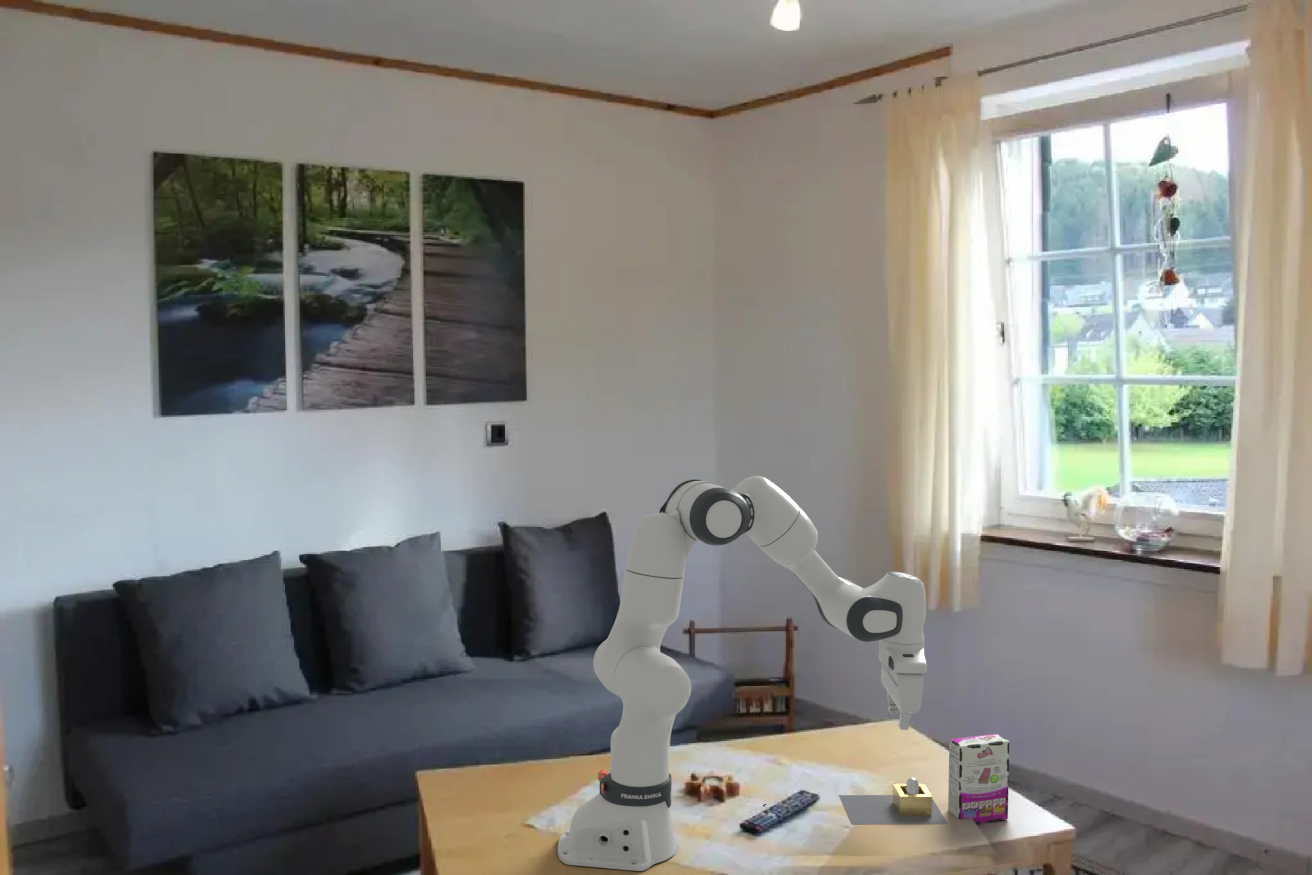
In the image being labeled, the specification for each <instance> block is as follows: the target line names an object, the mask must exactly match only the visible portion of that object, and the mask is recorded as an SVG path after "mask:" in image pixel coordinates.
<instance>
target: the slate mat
mask: <svg viewBox="0 0 1312 875" xmlns="http://www.w3.org/2000/svg"><path fill="white" fill-rule="evenodd" d="M838 796H839V800H840V801H841V803H842V805H843V808H844V810H845V812H846V814H847V817H848V819H849V822H850V823H851V825H949V823H948V821H947V820H946V818H945V817H944V815H943V814H942V812H941V810H940V809H939V807H938V805H937V804H936V802H935V801H934V799H933V798H932V816H899V814H898V812H897V810H896V808H895V806H894V805H893V803H892V802H893V794H839V795H838Z"/></svg>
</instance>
